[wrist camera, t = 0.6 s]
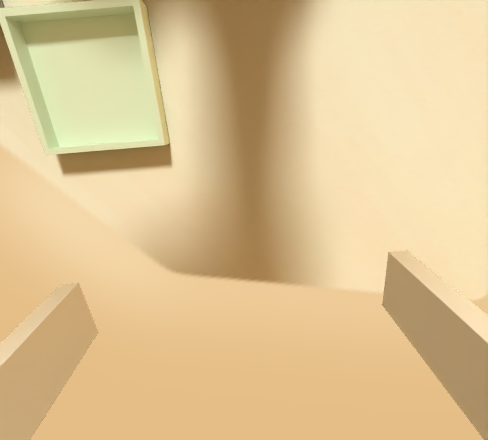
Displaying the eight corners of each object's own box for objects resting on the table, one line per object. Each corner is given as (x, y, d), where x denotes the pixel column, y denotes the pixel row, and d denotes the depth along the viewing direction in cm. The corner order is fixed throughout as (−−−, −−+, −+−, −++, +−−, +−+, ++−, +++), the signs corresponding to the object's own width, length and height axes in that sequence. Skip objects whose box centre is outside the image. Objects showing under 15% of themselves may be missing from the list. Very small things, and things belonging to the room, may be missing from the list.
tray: (15, 17, 29) (-5, 8, 27) (146, 6, 29) (138, -4, 27) (58, 152, 34) (45, 155, 32) (170, 143, 34) (165, 145, 32)
